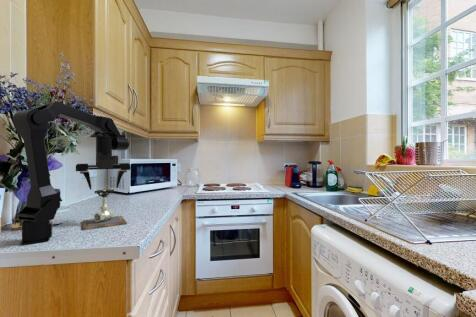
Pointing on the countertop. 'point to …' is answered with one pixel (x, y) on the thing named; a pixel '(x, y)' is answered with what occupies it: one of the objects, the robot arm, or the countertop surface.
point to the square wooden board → (103, 223)
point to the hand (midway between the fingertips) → (104, 188)
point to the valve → (104, 207)
